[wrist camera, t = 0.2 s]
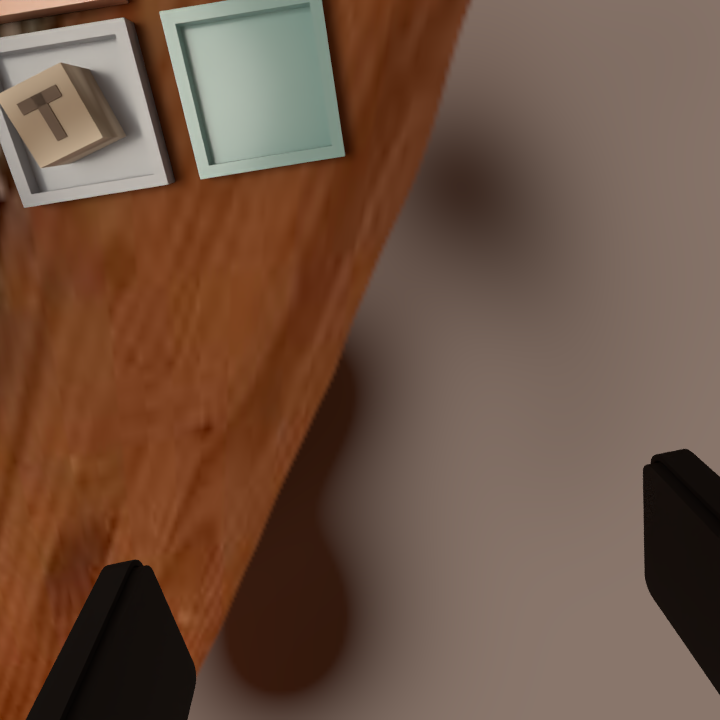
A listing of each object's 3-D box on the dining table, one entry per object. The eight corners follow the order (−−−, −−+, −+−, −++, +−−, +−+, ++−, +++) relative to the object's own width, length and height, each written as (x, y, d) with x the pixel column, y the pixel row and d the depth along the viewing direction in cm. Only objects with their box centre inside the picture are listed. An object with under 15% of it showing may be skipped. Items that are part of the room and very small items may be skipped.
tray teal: (167, 17, 34) (159, 11, 32) (319, -8, 33) (319, -15, 32) (206, 176, 37) (200, 179, 35) (344, 154, 37) (345, 155, 35)
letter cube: (31, 98, 34) (-6, 95, 30) (89, 69, 34) (59, 62, 30) (70, 163, 36) (39, 168, 32) (126, 136, 35) (102, 137, 31)
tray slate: (-18, 47, 34) (-36, 43, 32) (133, 22, 34) (123, 17, 32) (37, 204, 37) (24, 207, 35) (175, 181, 37) (168, 184, 35)
